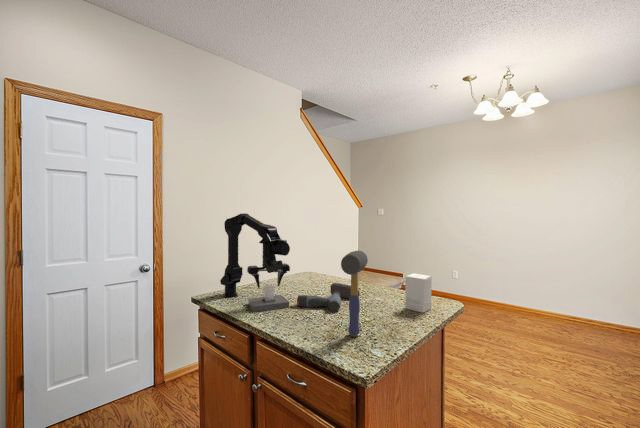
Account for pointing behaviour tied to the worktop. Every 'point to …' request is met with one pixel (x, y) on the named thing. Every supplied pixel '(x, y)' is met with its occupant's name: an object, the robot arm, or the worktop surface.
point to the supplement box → (418, 292)
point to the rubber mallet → (354, 286)
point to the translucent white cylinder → (268, 293)
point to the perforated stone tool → (342, 290)
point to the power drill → (320, 301)
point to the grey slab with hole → (268, 303)
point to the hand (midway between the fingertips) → (268, 287)
